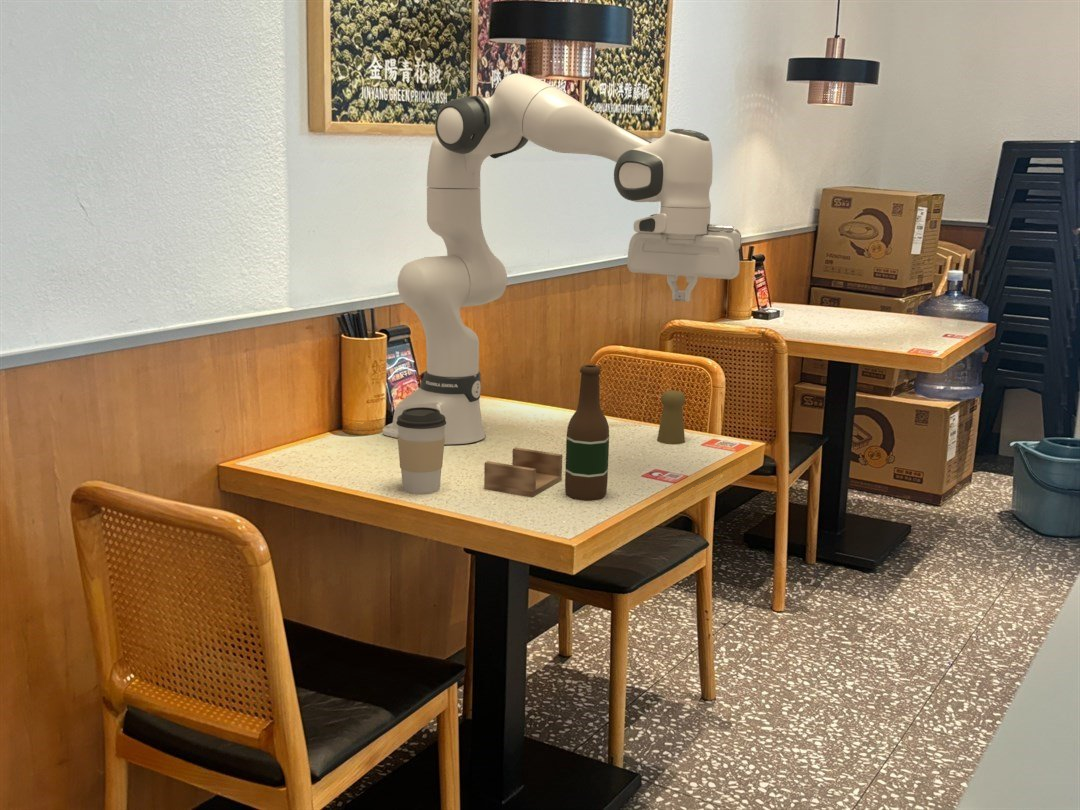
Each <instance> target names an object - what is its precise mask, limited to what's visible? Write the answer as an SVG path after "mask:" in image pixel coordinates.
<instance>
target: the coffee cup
mask: <svg viewBox="0 0 1080 810" xmlns="http://www.w3.org/2000/svg"><path fill="white" fill-rule="evenodd" d="M396 424H397V425H398V438H397V444H398V445H397V446H398V457H399V458H398V459H399V468H400V471H401V472H400V473H401V484H402V490H403V492H405V493H408V494H413V495H428V494H433V493H434V494H435V493H436V492H438V491H440V489H441V478H442V477H441V476H442V468H443V463H444V462H443V461H444V451H445V445H444V441H445V435H444V431H445V424H446V421H445V416H444V415H442V414H441V413H440V411H439V410H438V409H435V408H427V407H417V408H409V409H406V410H404V411H403V413H402V415H400V416H398V418H397V422H396Z"/></svg>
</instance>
